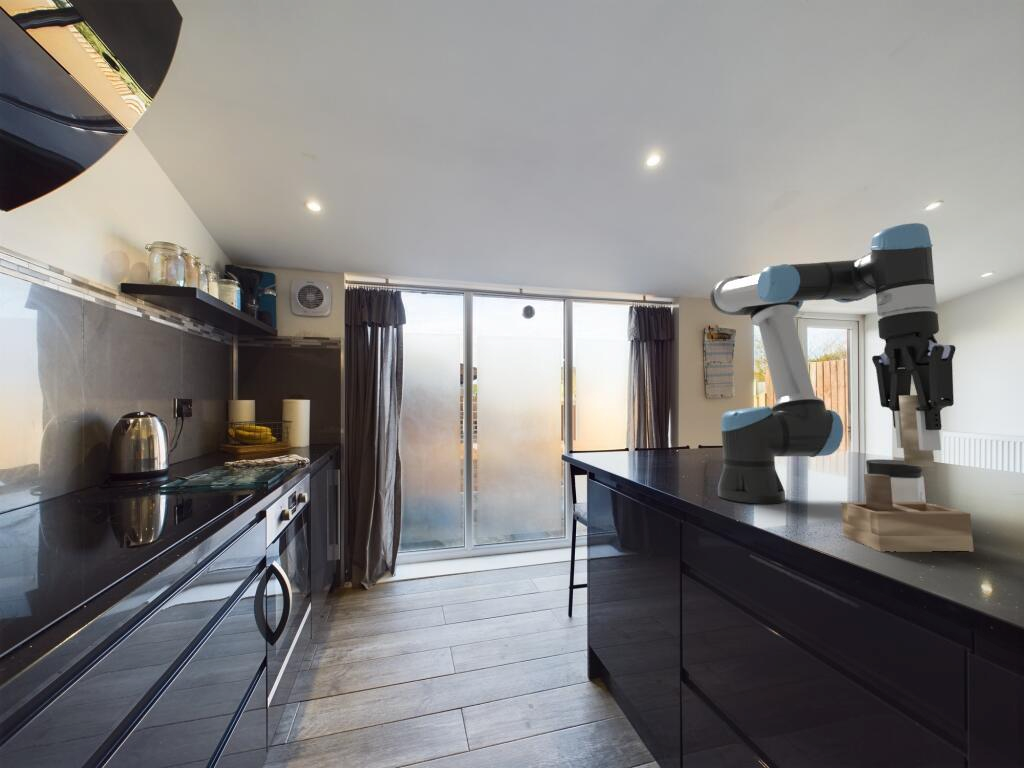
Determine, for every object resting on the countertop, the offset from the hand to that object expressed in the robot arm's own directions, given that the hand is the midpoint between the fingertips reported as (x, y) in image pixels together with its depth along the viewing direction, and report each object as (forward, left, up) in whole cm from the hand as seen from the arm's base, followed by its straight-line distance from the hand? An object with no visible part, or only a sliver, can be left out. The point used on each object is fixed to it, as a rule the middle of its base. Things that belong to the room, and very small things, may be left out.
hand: (918, 448), depth 69 cm
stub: (0, -7, -13) cm, 15 cm away
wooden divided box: (0, -3, -16) cm, 16 cm away
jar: (-13, +6, -16) cm, 22 cm away
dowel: (0, 0, -3) cm, 3 cm away
